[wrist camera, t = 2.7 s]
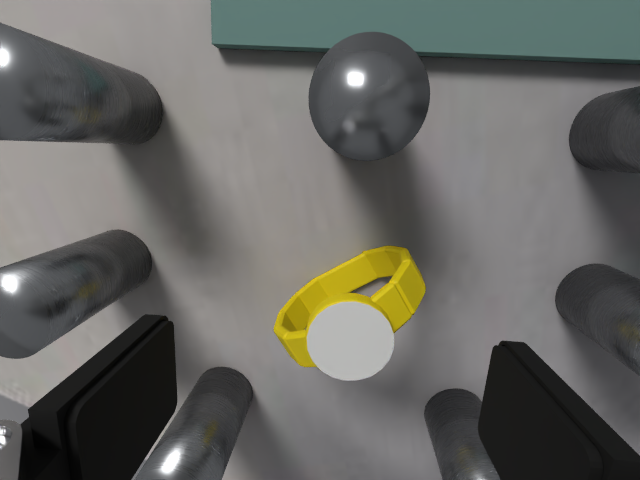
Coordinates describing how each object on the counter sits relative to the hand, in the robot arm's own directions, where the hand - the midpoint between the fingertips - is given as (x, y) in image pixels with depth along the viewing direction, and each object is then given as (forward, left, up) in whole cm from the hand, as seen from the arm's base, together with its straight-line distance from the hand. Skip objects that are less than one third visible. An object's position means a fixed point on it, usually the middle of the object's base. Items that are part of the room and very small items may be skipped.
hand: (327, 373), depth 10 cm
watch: (-1, -1, -7) cm, 7 cm away
